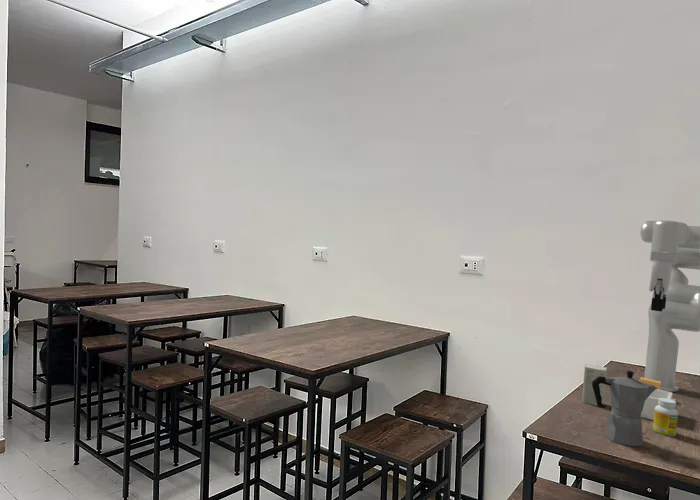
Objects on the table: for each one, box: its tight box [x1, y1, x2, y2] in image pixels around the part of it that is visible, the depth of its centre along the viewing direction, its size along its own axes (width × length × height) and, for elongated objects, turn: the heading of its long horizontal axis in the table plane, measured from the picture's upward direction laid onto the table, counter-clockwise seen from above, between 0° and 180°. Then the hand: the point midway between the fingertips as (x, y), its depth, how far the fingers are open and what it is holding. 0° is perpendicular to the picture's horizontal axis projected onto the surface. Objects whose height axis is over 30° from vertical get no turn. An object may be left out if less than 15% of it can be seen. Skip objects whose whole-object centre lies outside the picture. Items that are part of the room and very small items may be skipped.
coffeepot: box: [592, 370, 657, 447], centre depth 130 cm, size 15×9×18 cm, turn 78°
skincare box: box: [581, 364, 608, 407], centre depth 156 cm, size 6×4×12 cm
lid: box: [638, 376, 677, 402], centre depth 164 cm, size 13×15×7 cm
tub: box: [641, 389, 673, 421], centre depth 151 cm, size 12×14×7 cm
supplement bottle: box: [652, 398, 679, 437], centre depth 135 cm, size 5×5×10 cm
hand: (658, 309), depth 165 cm, fingers open, 9 cm apart
